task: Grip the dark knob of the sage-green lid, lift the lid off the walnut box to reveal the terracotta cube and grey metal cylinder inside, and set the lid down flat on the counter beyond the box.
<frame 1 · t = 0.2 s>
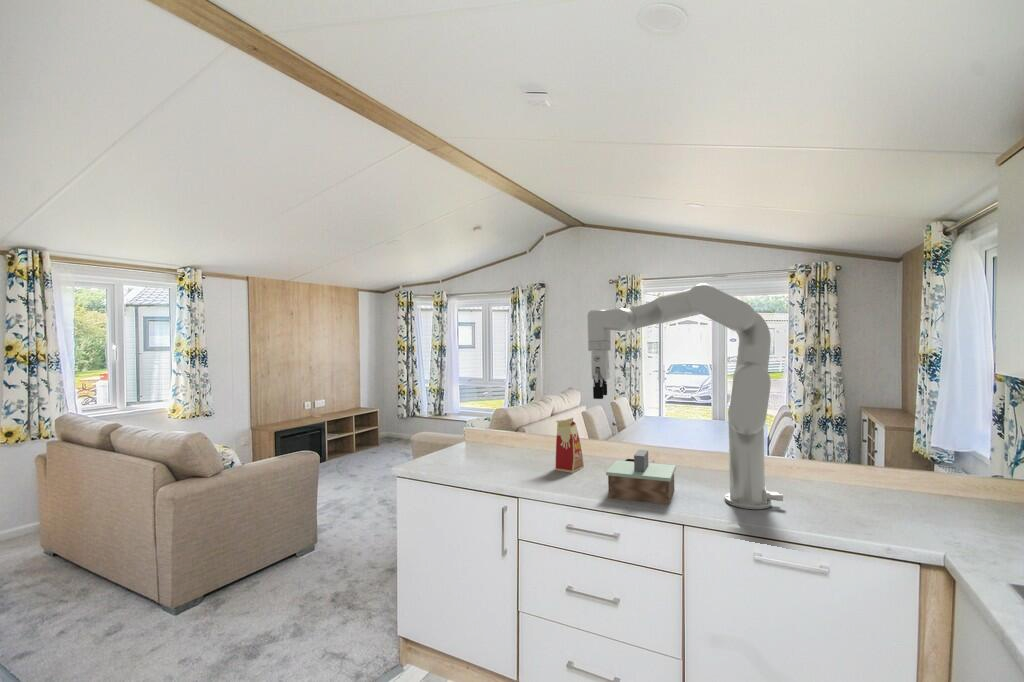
hand: (600, 396, 162), 31 cm above the worktop, tool pointing down, fingers open, 9 cm apart
metal cylinder: (630, 490, 155), point 1 cm above the worktop, touching box
icecream: (631, 478, 172), on the worktop
milk carton: (568, 469, 185), on the worktop
terracotta cube: (653, 495, 150), point 1 cm above the worktop, touching box
box: (642, 497, 151), on the worktop
lid: (641, 474, 151), point 7 cm above the worktop, touching box
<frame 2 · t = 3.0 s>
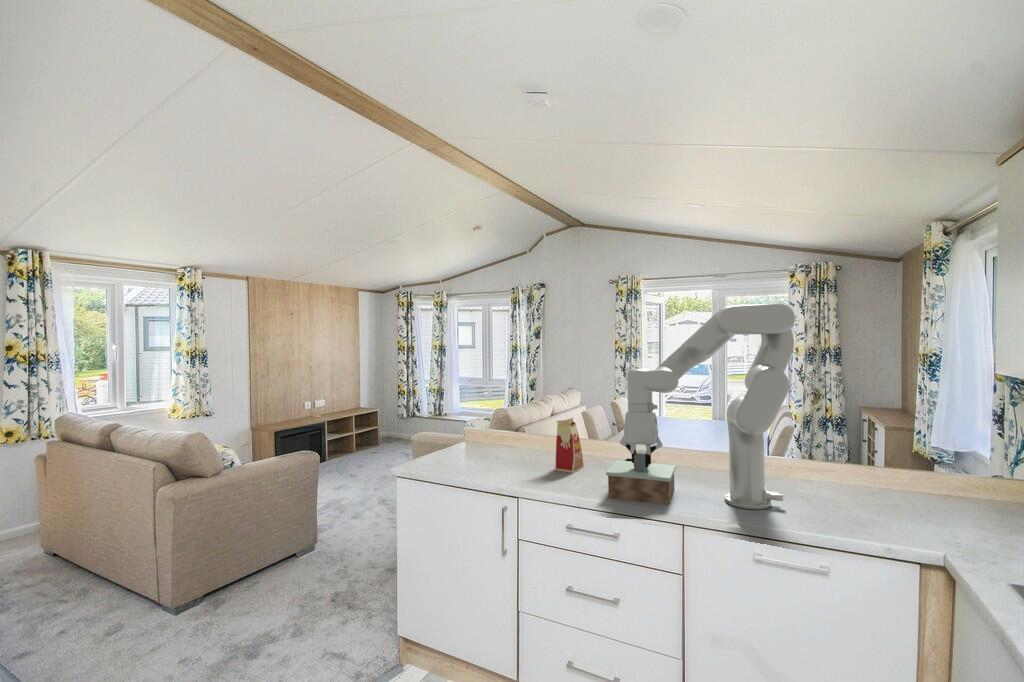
hand: (641, 465, 151), 10 cm above the worktop, tool pointing down, fingers closed on lid, 3 cm apart
lid: (641, 474, 151), point 7 cm above the worktop, touching box, gripper
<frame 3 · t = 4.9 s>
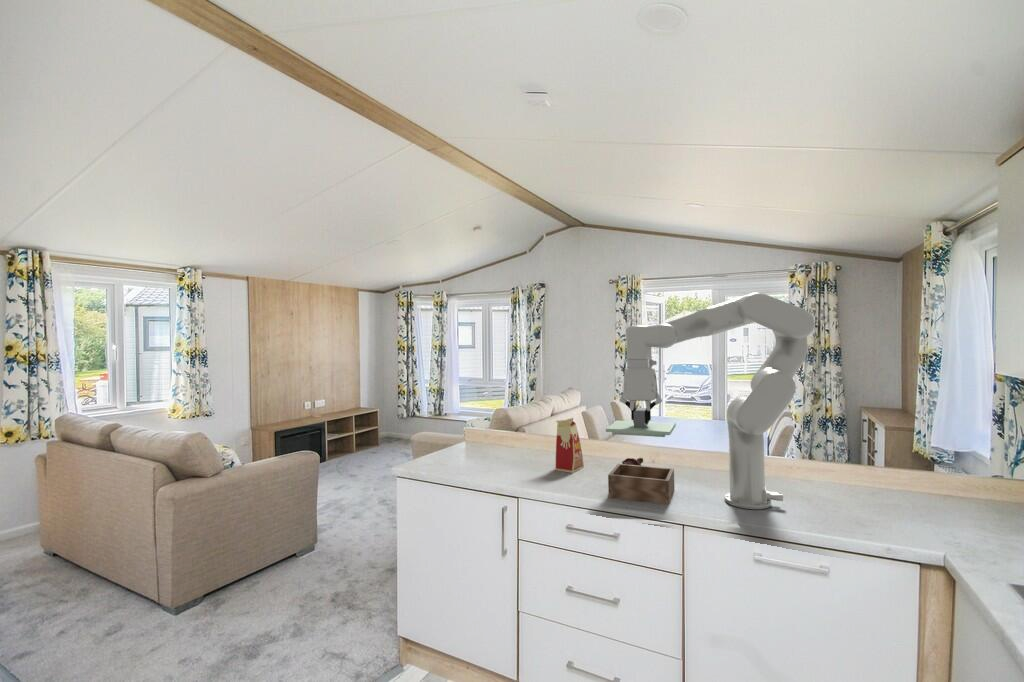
hand: (641, 422, 151), 24 cm above the worktop, tool pointing down, fingers closed on lid, 3 cm apart
lid: (641, 432, 151), point 21 cm above the worktop, touching gripper
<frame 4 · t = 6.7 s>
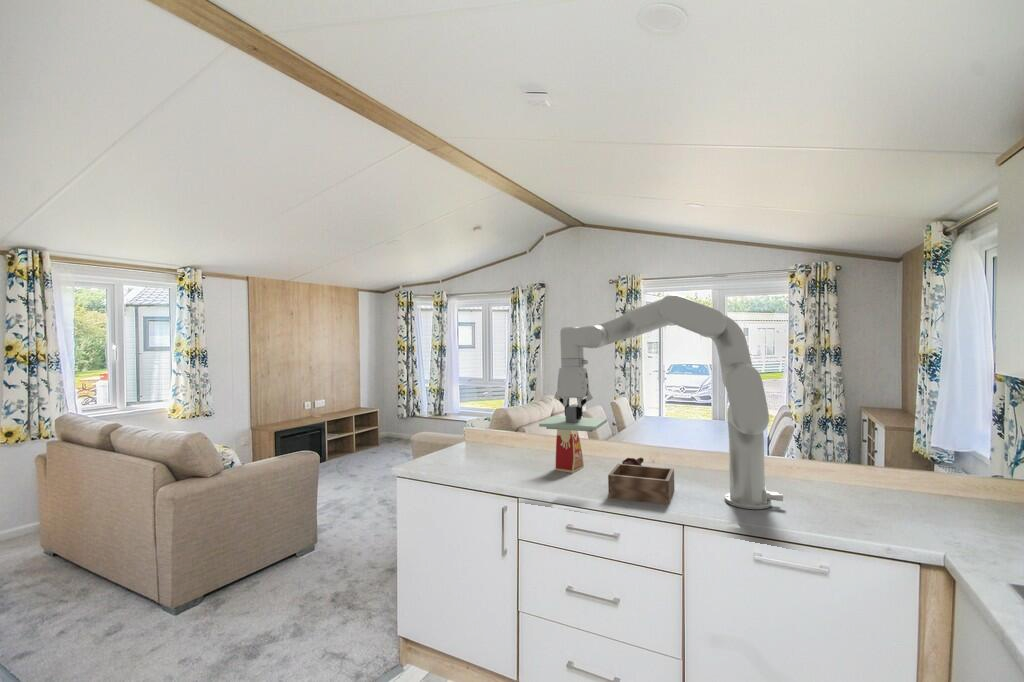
hand: (573, 417, 160), 24 cm above the worktop, tool pointing down, fingers closed on lid, 3 cm apart
lid: (573, 427, 160), point 21 cm above the worktop, touching gripper
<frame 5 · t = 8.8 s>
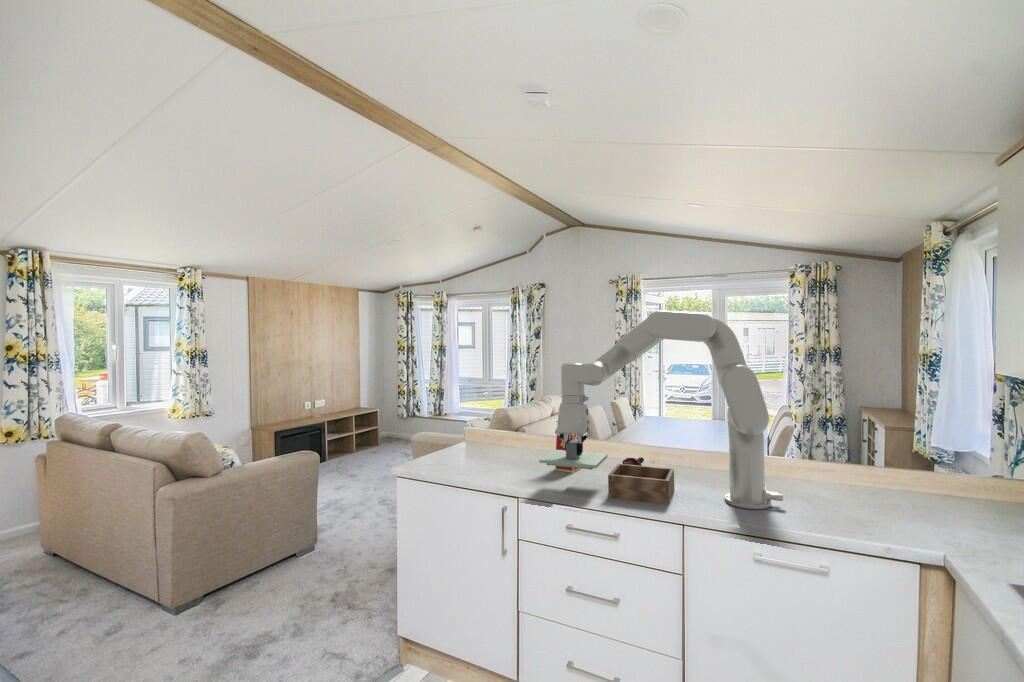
hand: (574, 453, 160), 12 cm above the worktop, tool pointing down, fingers closed on lid, 3 cm apart
lid: (574, 462, 160), point 9 cm above the worktop, touching gripper
when the fingers open (5 cm above the worktop, at t = 10.5 s): lid drops 2 cm, on the worktop.
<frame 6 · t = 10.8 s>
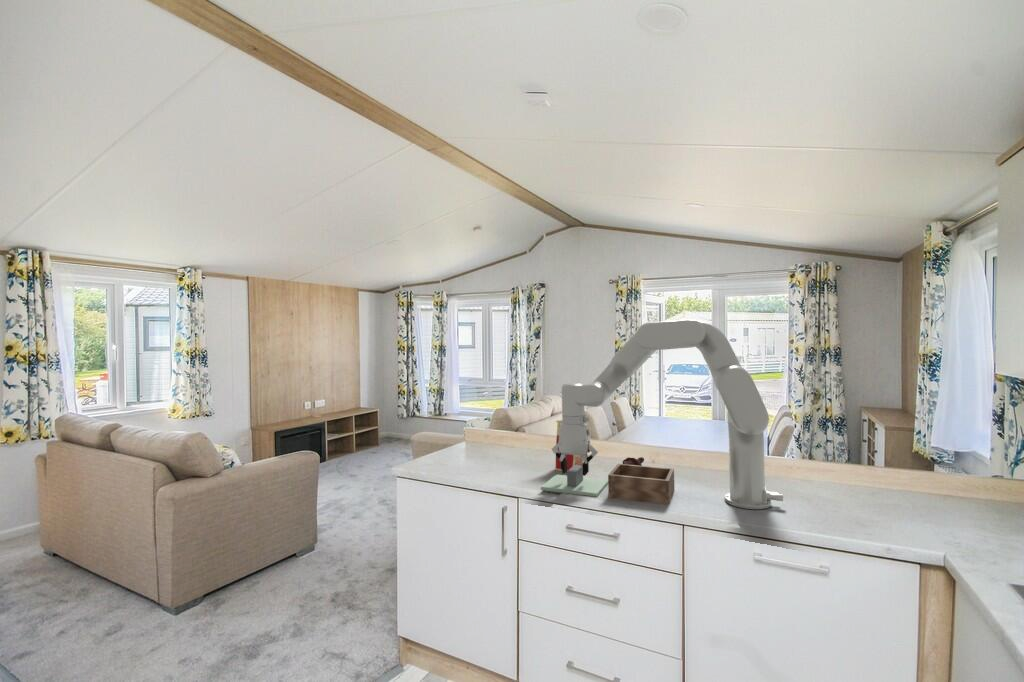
hand: (574, 473, 160), 5 cm above the worktop, tool pointing down, fingers open, 6 cm apart
lid: (575, 489, 160), on the worktop
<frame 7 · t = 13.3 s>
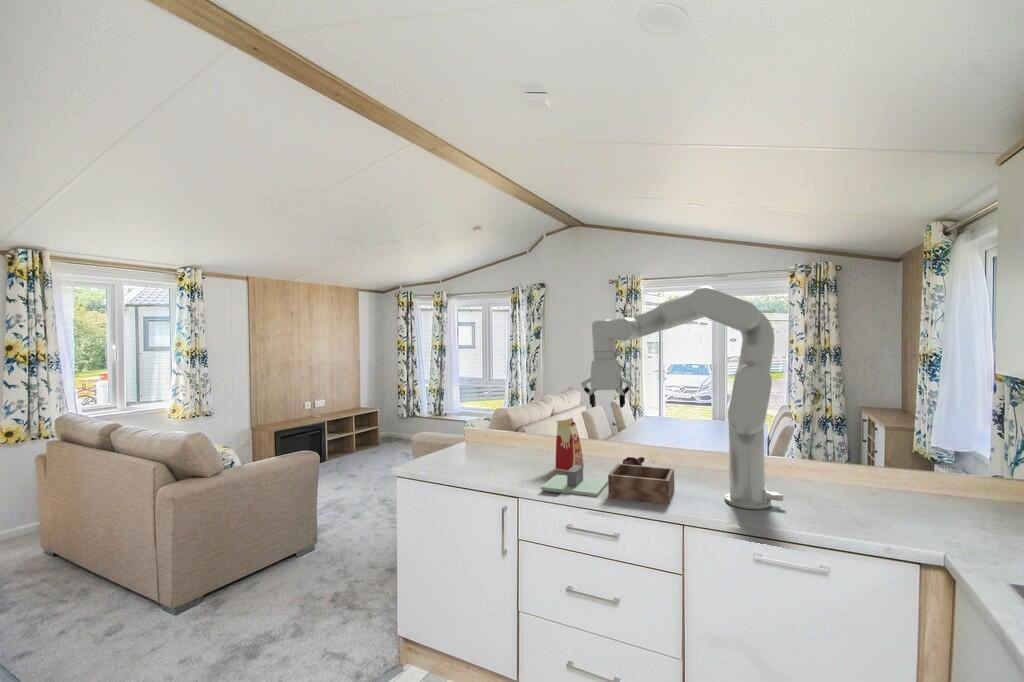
hand: (607, 406, 162), 27 cm above the worktop, tool pointing down, fingers open, 9 cm apart
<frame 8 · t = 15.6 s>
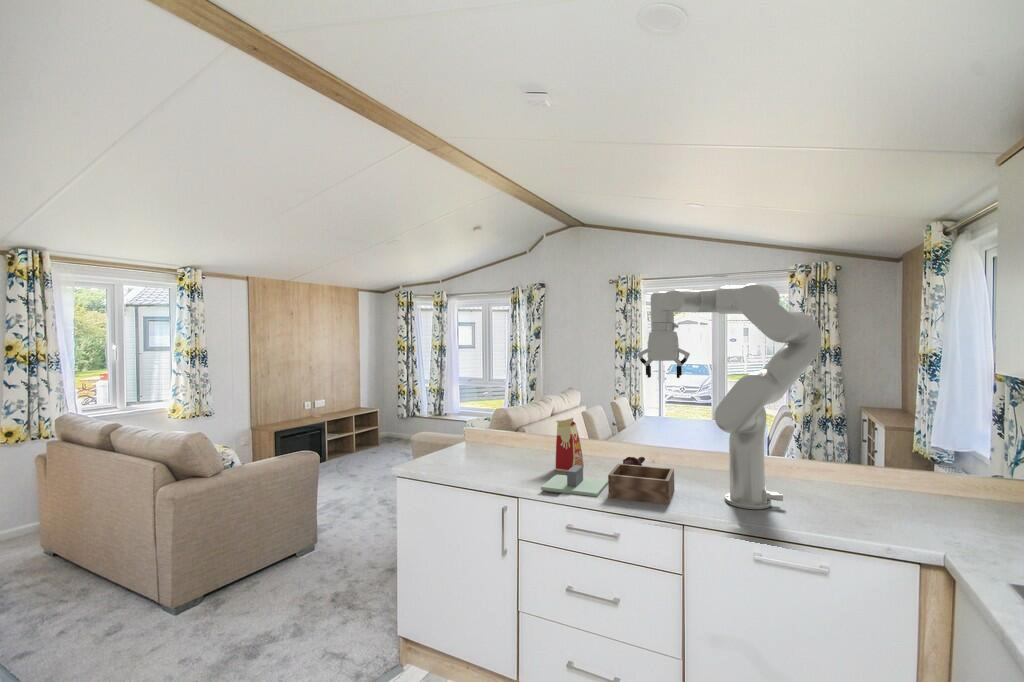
hand: (663, 377, 165), 36 cm above the worktop, tool pointing down, fingers open, 9 cm apart
at the end: lid touching worktop; lid inside the target area (0.1 cm from its centre), on the worktop; lid tilted 0° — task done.
